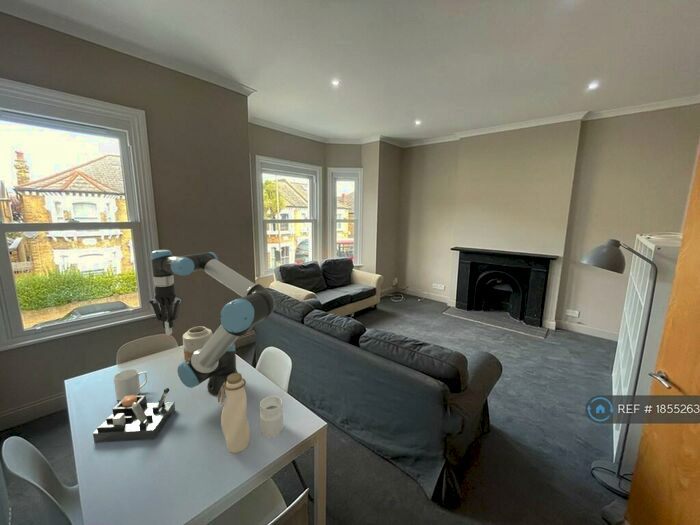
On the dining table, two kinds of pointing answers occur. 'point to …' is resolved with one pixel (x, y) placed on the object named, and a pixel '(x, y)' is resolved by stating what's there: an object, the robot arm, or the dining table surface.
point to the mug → (128, 383)
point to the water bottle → (234, 413)
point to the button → (129, 401)
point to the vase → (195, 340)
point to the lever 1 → (139, 412)
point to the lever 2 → (163, 397)
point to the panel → (135, 422)
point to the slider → (119, 419)
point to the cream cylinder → (271, 416)
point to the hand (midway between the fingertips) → (169, 334)
